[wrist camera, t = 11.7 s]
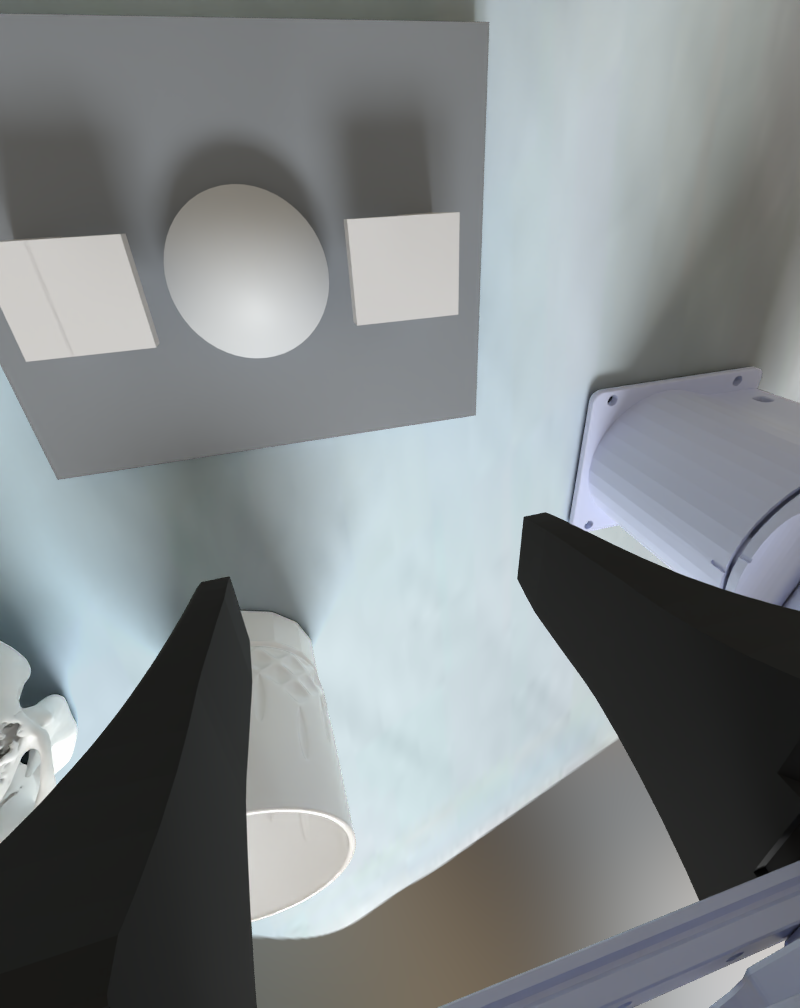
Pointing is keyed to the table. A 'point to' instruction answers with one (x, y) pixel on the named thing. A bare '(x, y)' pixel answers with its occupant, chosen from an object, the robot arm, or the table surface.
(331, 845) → the white cup
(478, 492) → the table surface
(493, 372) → the table surface
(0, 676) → the skull bowl
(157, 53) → the post base
